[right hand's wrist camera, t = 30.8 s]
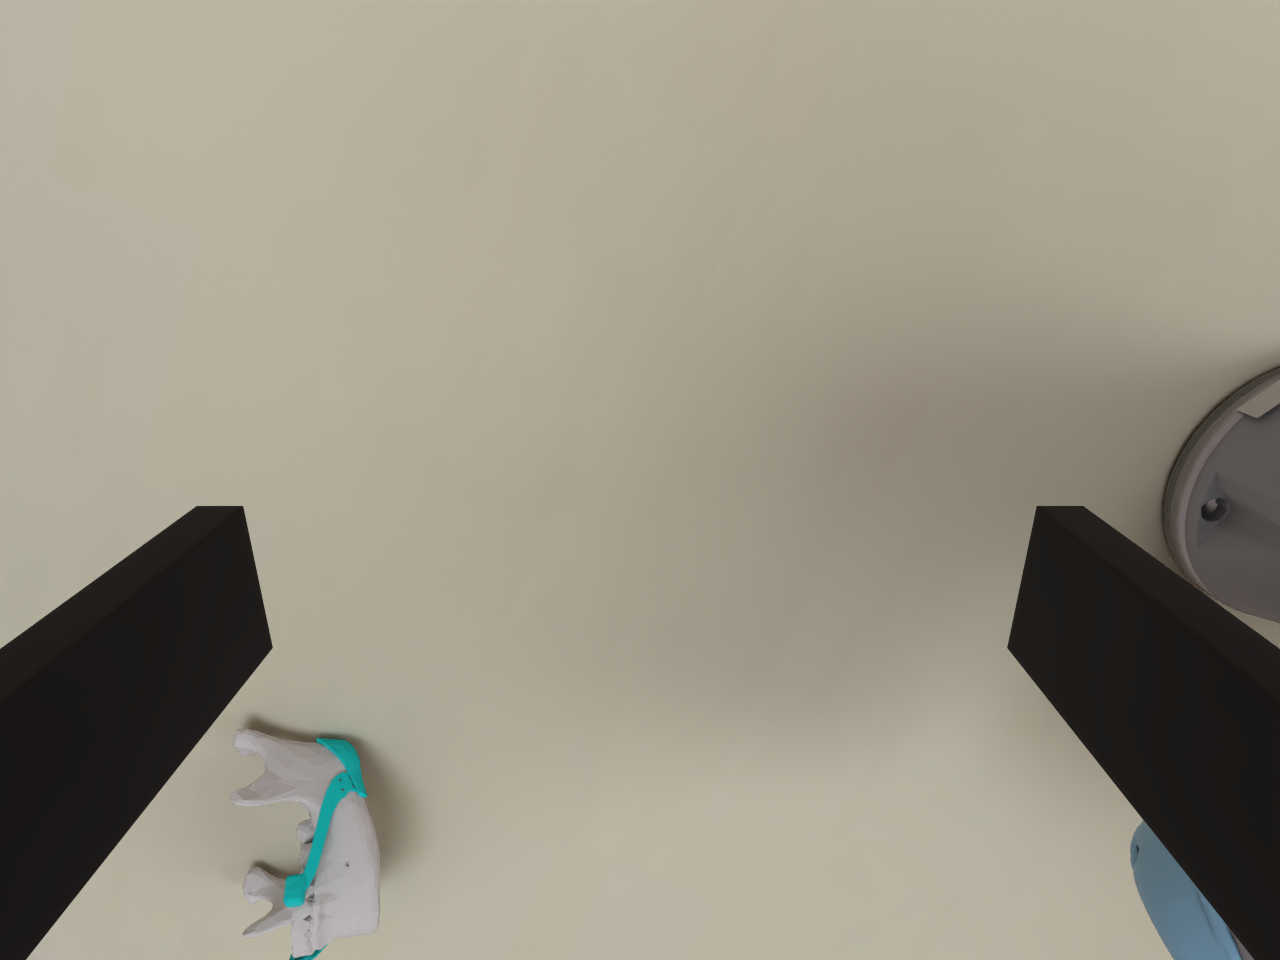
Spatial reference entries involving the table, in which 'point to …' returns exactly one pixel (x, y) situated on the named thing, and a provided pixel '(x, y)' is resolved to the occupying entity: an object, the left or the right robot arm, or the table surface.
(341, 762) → the anatomical model
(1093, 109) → the table surface
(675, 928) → the table surface
